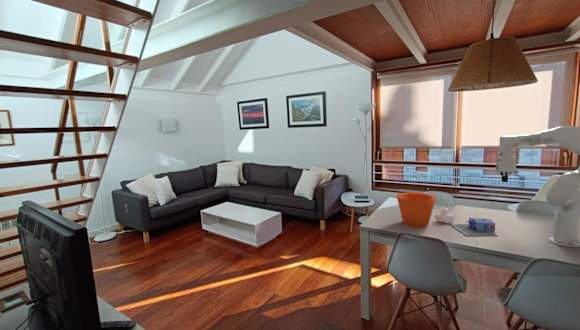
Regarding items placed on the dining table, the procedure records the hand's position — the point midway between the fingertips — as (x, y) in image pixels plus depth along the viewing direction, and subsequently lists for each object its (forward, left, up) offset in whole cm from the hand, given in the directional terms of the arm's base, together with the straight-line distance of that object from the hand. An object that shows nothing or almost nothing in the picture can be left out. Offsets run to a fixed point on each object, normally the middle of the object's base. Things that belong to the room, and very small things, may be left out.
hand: (504, 181), depth 182 cm
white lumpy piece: (+6, +35, -29) cm, 46 cm away
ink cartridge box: (-11, +13, -26) cm, 31 cm away
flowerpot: (+3, +56, -29) cm, 63 cm away
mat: (-11, +26, -29) cm, 40 cm away
